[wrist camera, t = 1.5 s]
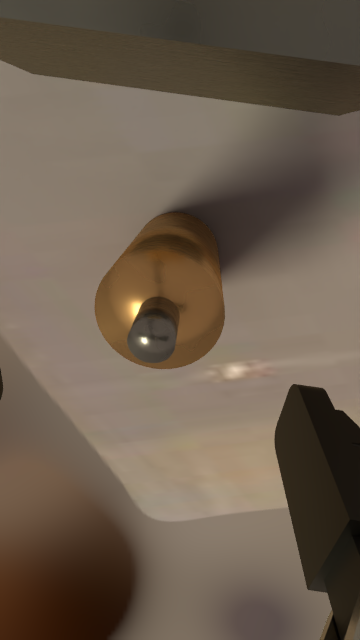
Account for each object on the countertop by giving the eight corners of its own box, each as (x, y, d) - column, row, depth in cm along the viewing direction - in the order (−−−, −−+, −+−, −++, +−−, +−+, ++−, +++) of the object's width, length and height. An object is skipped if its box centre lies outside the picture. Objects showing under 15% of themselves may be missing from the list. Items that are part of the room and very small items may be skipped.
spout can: (137, 206, 18) (73, 259, 10) (225, 218, 18) (242, 283, 10) (133, 288, 21) (78, 391, 12) (210, 299, 21) (213, 410, 12)
